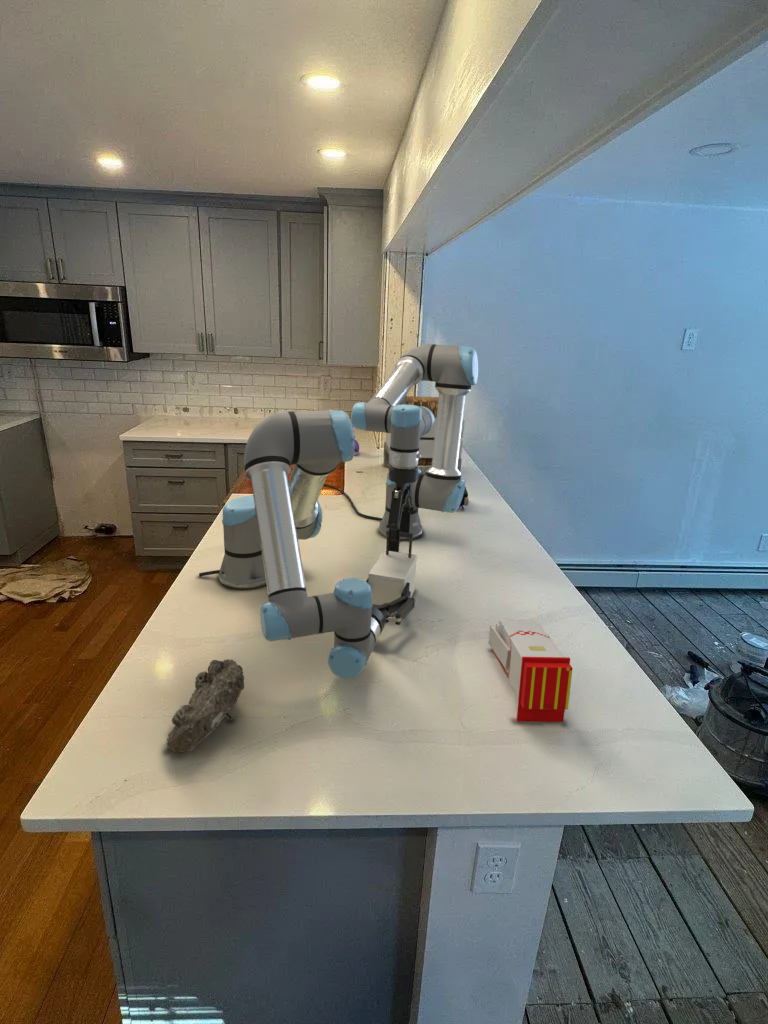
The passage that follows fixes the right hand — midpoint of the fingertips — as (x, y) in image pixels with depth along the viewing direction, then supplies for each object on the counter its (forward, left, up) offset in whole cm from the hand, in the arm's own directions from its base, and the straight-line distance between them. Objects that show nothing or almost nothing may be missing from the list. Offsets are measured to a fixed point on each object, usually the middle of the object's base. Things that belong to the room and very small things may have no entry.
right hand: (399, 541), depth 154 cm
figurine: (-131, +85, -15) cm, 157 cm away
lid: (+3, -4, -5) cm, 8 cm away
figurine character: (-40, +70, -15) cm, 82 cm away
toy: (+47, -5, -15) cm, 49 cm away
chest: (+3, -5, -15) cm, 16 cm away
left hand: (+6, -8, -8) cm, 13 cm away
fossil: (+17, -63, -15) cm, 67 cm away
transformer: (-84, +90, -15) cm, 125 cm away
